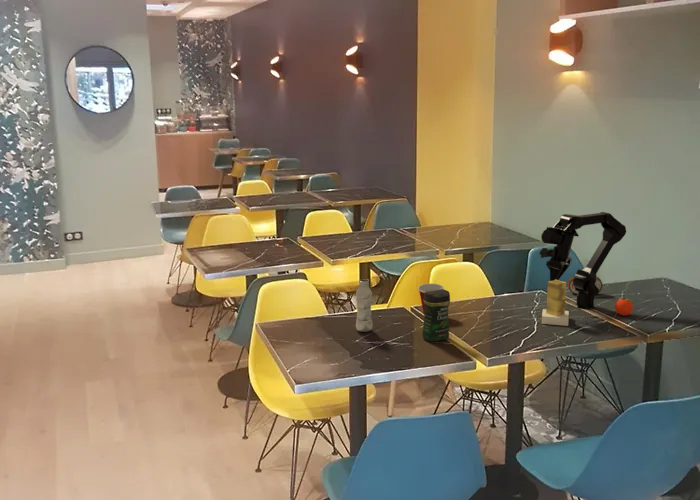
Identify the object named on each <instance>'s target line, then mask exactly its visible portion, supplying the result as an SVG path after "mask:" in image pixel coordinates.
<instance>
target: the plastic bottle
mask: <svg viewBox="0 0 700 500" xmlns="http://www.w3.org/2000/svg"><path fill="white" fill-rule="evenodd" d="M369 281H370V280H369V279H365V278H363V279H359V282H358V286H359V287H358V288H357V290H356V292H355V300H356V308H357V309H356V310H357V311H356V320H355V321H356V322H355V328H356V330H357V331H358V332H363V333H367V332H370V331H371V330H372V329H373V320H372V300H373V292H372V290H371V288H370V287H369V285H370V283H369Z"/></svg>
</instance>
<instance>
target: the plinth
mask: <svg viewBox="0 0 700 500" xmlns="http://www.w3.org/2000/svg"><path fill="white" fill-rule="evenodd" d="M569 313H570V312H569V310H565V314H563V315H559V316H554V315H550V314H547V313H546V308H543V309H542V313H541V324H542V325H543V324H544V325H553V326H554V325H555V326H566V327H569Z"/></svg>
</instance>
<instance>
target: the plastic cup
mask: <svg viewBox="0 0 700 500" xmlns="http://www.w3.org/2000/svg"><path fill="white" fill-rule="evenodd" d="M440 289H444V290H445V286H443V285H442V284H438V283H424V284H420V285H419V286H418V288H417V290H418V292H419V295H420V301H421V307H422V314H423V316H424V315H425V305H424V293H425V292H427V291H434V290H440Z"/></svg>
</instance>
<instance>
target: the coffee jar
mask: <svg viewBox="0 0 700 500" xmlns="http://www.w3.org/2000/svg"><path fill="white" fill-rule="evenodd" d="M450 295H451V293H450V292H449V291H448V290H446V289H445V288H444V289H440V290H434V291H427V292H425V293H424V305H425V315H424V314H423V316H424V317H423V325H422V333H421V335H422V338H423V339H424V340H425V341H427V342H429V341H430V342H433V343H434V342H439V341H440V342H441V341H445V340H448V339H449V338H450V326H449V306H450V303H451V296H450Z"/></svg>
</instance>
